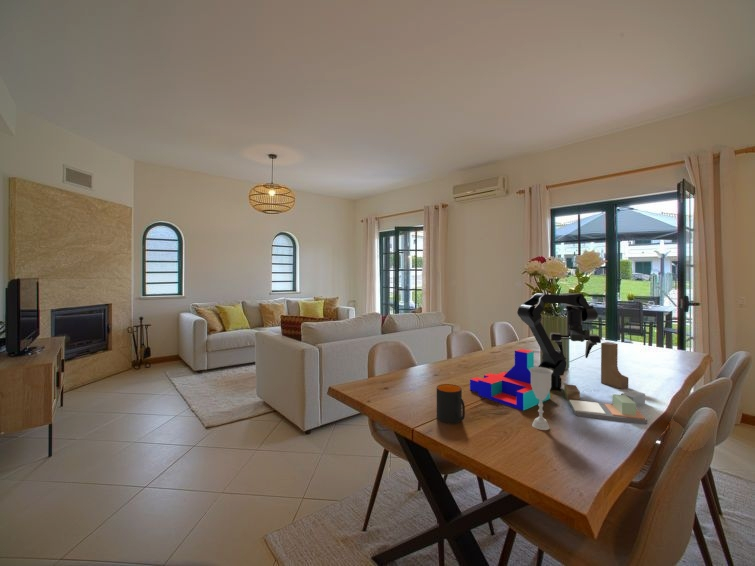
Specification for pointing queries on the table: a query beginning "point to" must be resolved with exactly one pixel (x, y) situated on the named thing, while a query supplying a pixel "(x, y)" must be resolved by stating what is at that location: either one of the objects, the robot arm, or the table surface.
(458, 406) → the mug
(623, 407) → the sage brick
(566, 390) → the walnut brick
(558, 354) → the robot arm
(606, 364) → the wooden block
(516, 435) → the table surface
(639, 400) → the slate brick
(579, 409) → the tile board
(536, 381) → the chalice
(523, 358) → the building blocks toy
